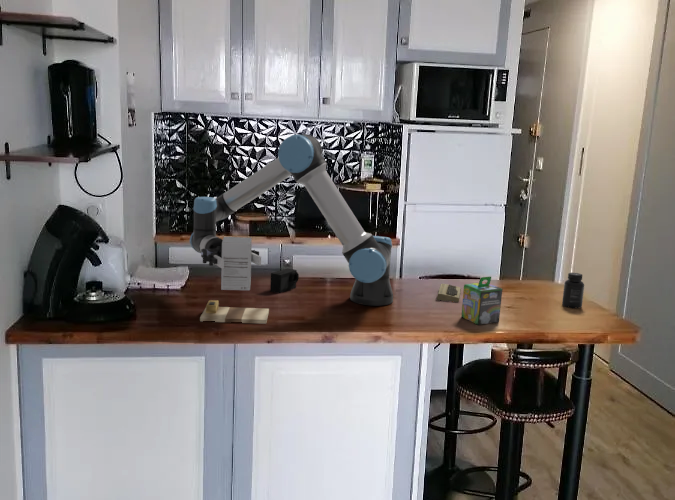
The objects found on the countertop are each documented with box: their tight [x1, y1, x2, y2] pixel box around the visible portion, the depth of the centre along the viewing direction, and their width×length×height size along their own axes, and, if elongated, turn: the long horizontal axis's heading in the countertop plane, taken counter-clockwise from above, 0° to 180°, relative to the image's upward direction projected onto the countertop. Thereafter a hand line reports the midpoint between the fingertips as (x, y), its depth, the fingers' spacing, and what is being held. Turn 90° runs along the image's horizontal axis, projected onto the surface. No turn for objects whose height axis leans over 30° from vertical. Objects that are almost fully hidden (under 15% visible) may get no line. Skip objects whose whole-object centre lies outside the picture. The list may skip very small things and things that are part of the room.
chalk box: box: [461, 276, 503, 326], centre depth 212 cm, size 9×9×15 cm
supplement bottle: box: [561, 272, 585, 309], centre depth 235 cm, size 7×7×12 cm
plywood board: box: [199, 299, 270, 325], centre depth 204 cm, size 20×12×4 cm, turn 92°
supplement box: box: [220, 236, 252, 291], centre depth 201 cm, size 9×9×15 cm
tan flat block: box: [436, 283, 462, 303], centre depth 241 cm, size 16×8×3 cm, turn 167°
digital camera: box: [269, 268, 300, 294], centre depth 238 cm, size 10×5×7 cm, turn 149°
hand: (241, 262), depth 197 cm, fingers closed on supplement box, 11 cm apart
